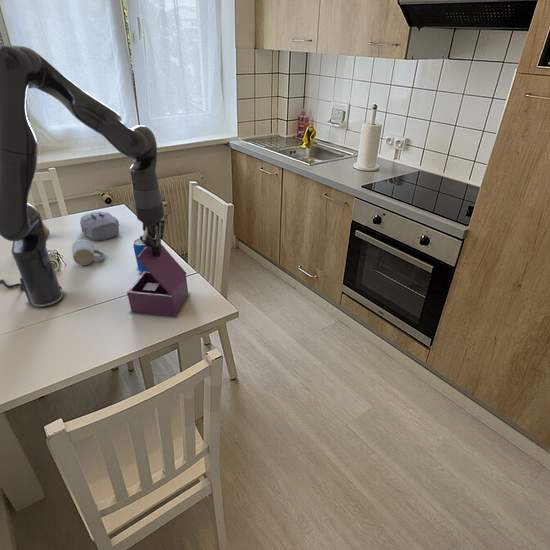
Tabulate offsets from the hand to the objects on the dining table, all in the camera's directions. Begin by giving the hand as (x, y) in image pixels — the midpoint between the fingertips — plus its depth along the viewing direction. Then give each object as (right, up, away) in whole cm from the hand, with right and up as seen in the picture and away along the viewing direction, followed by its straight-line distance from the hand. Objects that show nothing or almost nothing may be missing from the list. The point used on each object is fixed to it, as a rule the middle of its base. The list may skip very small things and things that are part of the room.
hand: (157, 255), depth 119 cm
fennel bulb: (-34, +21, +59) cm, 72 cm away
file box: (-2, -15, +10) cm, 18 cm away
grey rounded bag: (-42, +13, +54) cm, 70 cm away
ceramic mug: (-36, 0, +33) cm, 49 cm away
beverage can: (-12, -4, +28) cm, 30 cm away
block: (-4, -14, +10) cm, 18 cm away
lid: (+1, -3, +2) cm, 4 cm away
